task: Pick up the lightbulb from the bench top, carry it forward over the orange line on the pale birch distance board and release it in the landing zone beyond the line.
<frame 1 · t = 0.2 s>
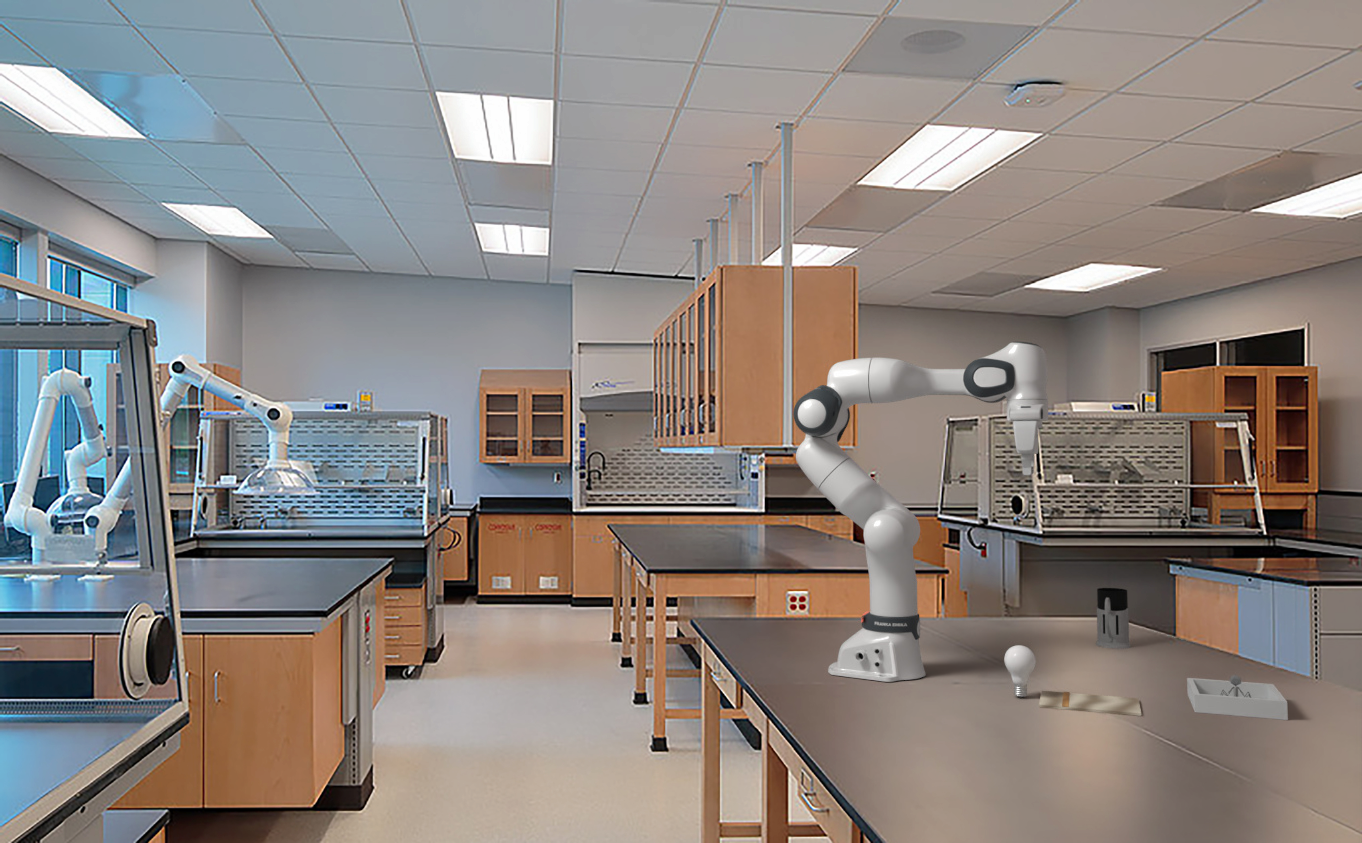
hand: (1028, 474, 222), 47 cm above the table, fingers open, 8 cm apart
lightbulb: (1020, 698, 209), on the table
distance board: (1089, 703, 204), on the table
specimen tray: (1235, 706, 201), on the table
glass holder: (1111, 647, 264), on the table
bacteriophage: (1236, 708, 201), resting in specimen tray
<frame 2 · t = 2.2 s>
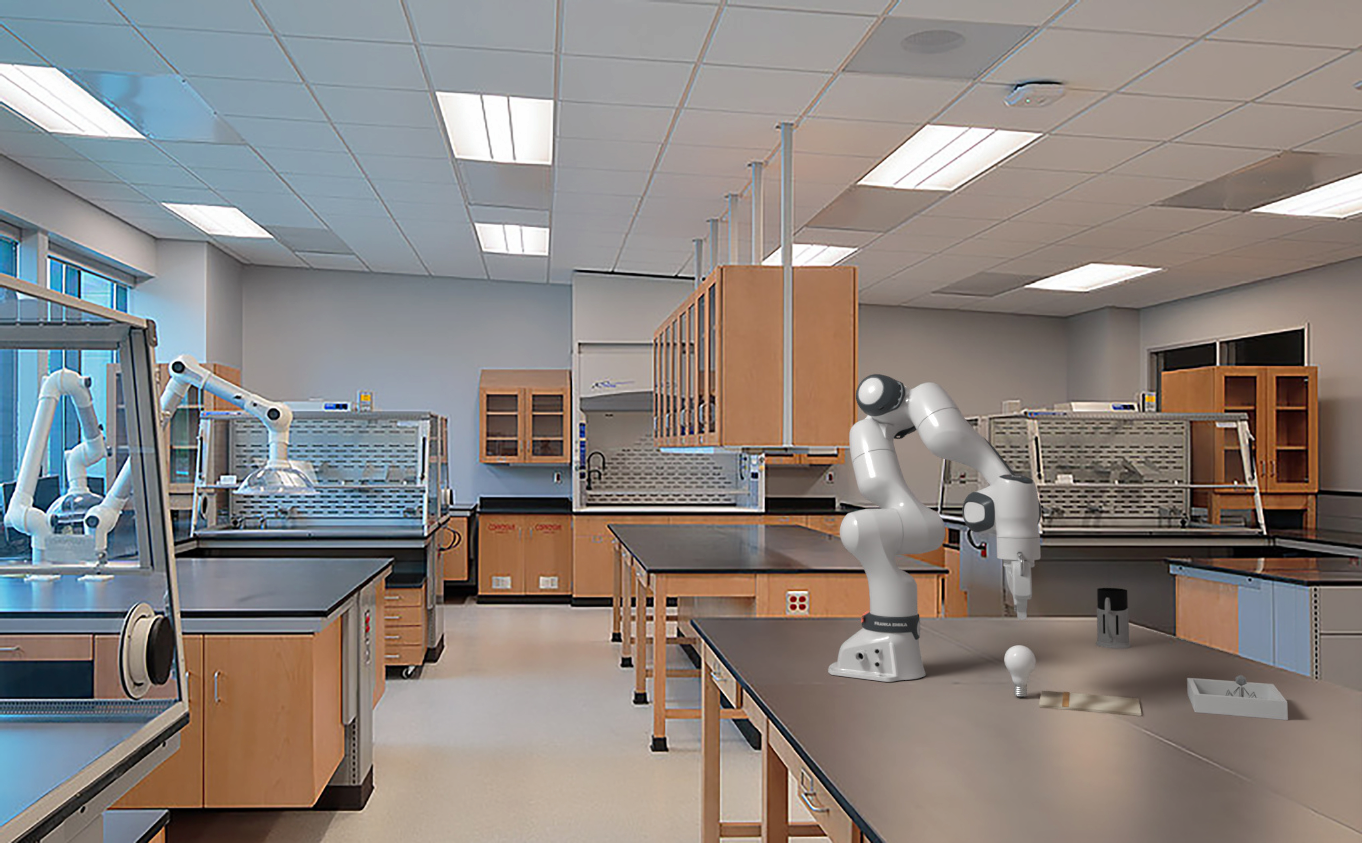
hand: (1020, 616, 210), 17 cm above the table, fingers open, 8 cm apart
bacteriophage: (1241, 708, 201), resting in specimen tray
everything else where it was.
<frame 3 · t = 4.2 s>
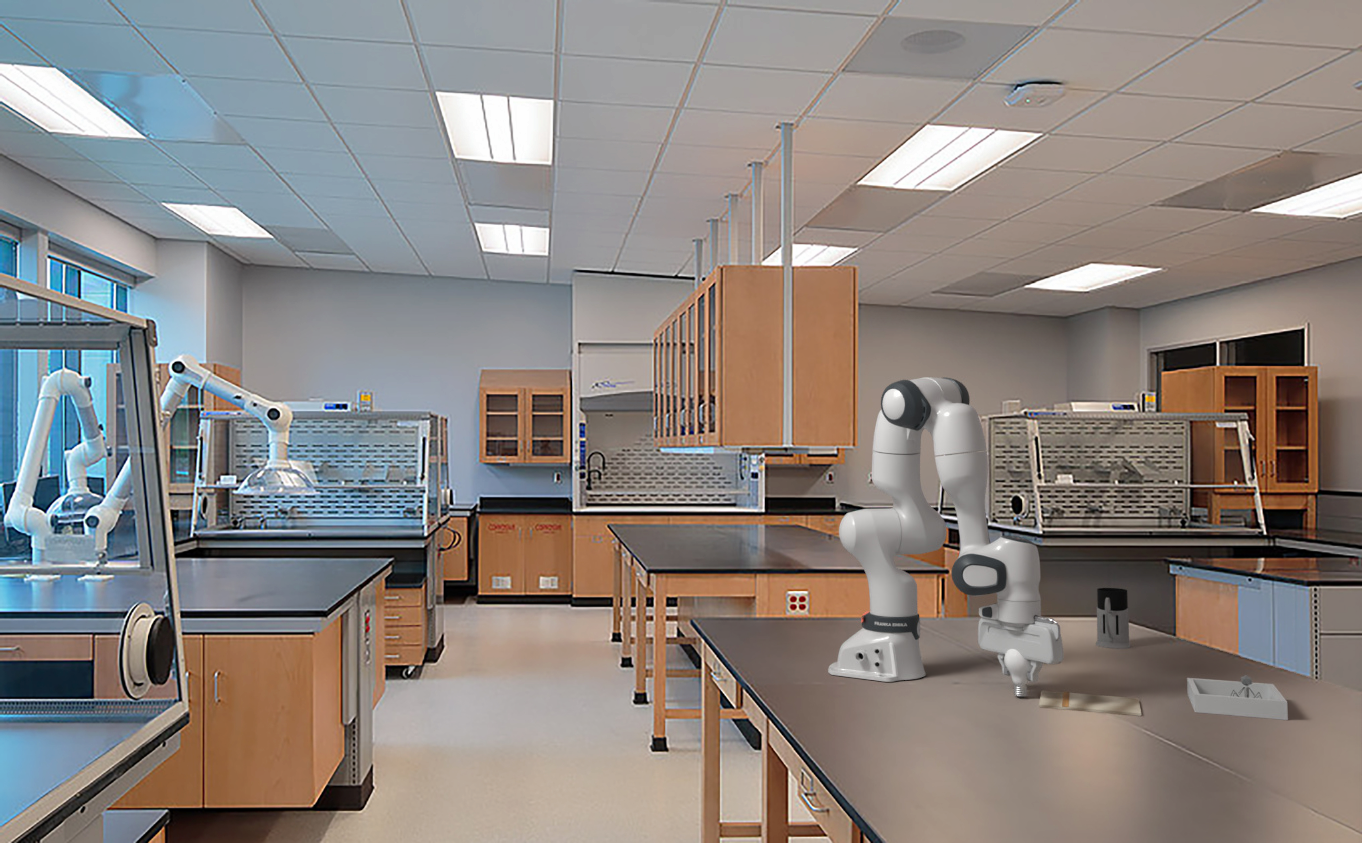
hand: (1020, 677, 210), 4 cm above the table, fingers closed on lightbulb, 5 cm apart
lightbulb: (1020, 698, 209), on the table, touching gripper
bacteriophage: (1247, 709, 201), resting in specimen tray
everything else where it was.
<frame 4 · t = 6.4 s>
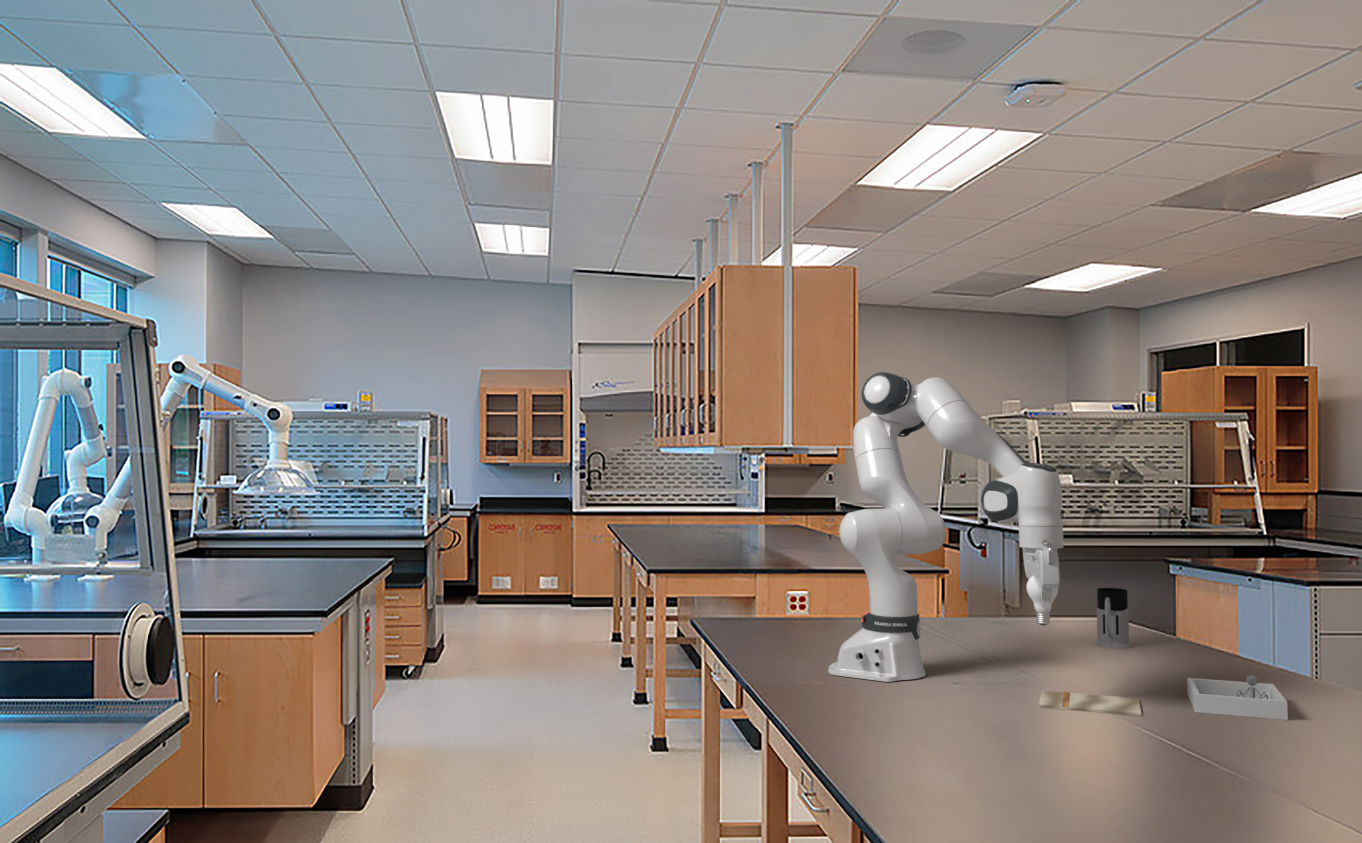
hand: (1042, 605, 208), 20 cm above the table, fingers closed on lightbulb, 5 cm apart
lightbulb: (1043, 626, 208), point 15 cm above the table, touching gripper
bacteriophage: (1253, 709, 201), resting in specimen tray
everything else where it was.
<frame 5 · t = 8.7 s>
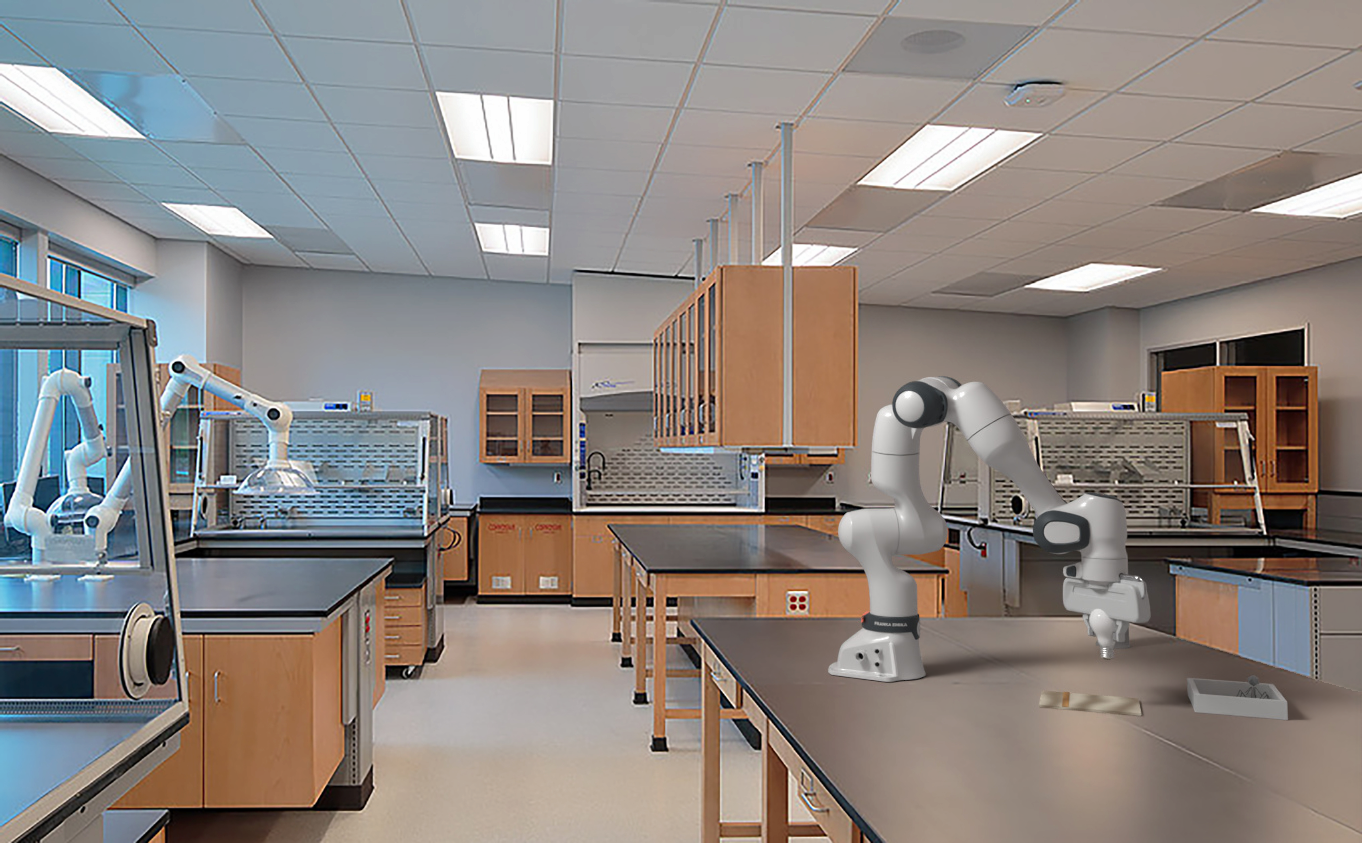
hand: (1106, 638, 203), 14 cm above the table, fingers closed on lightbulb, 5 cm apart
lightbulb: (1107, 660, 203), point 9 cm above the table, touching gripper
when the fingers open (5 cm above the table, at t = 11.7 s): lightbulb stays where it is, resting on distance board.
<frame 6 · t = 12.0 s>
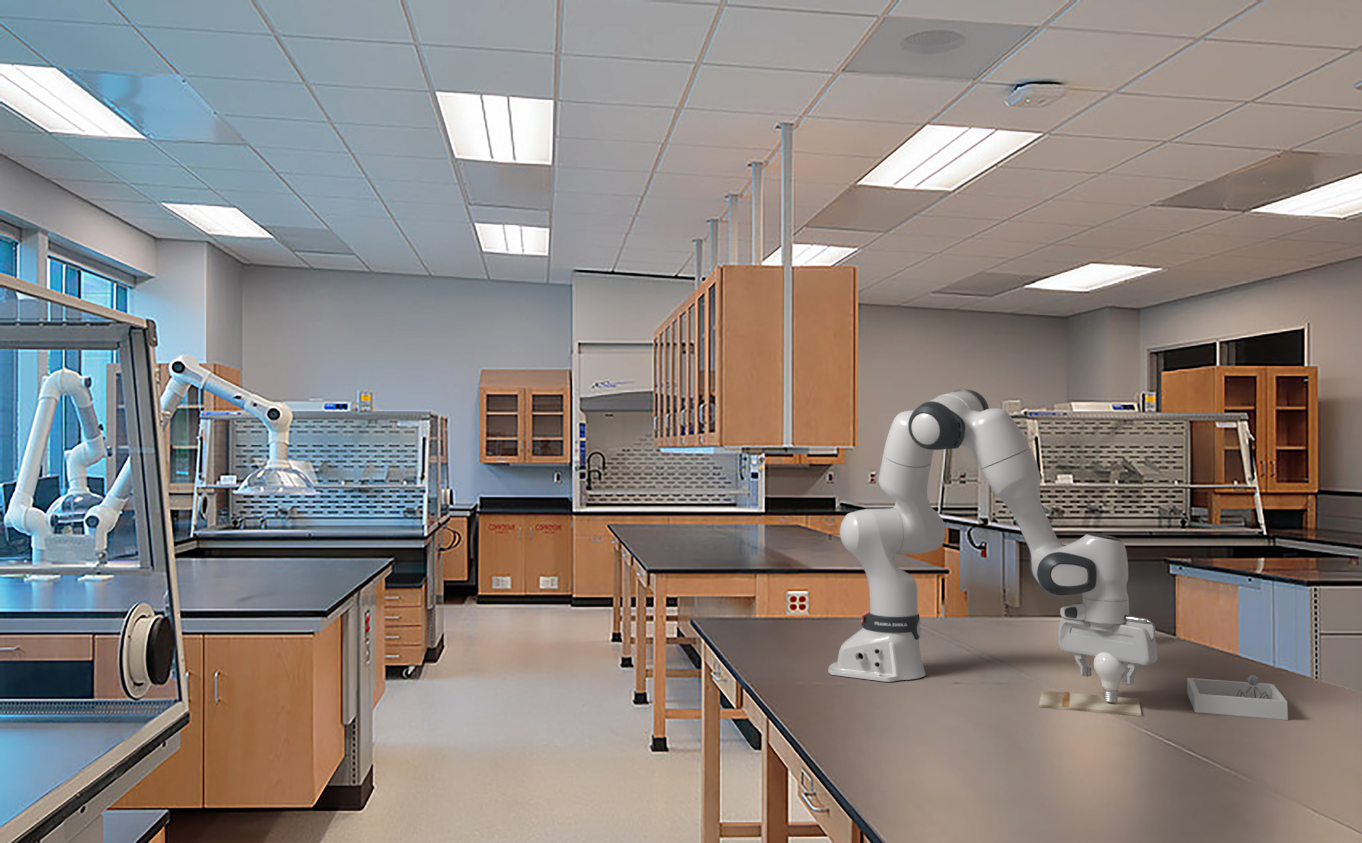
hand: (1106, 679, 203), 5 cm above the table, fingers open, 8 cm apart
lightbulb: (1110, 704, 202), resting on distance board
everything else where it was.
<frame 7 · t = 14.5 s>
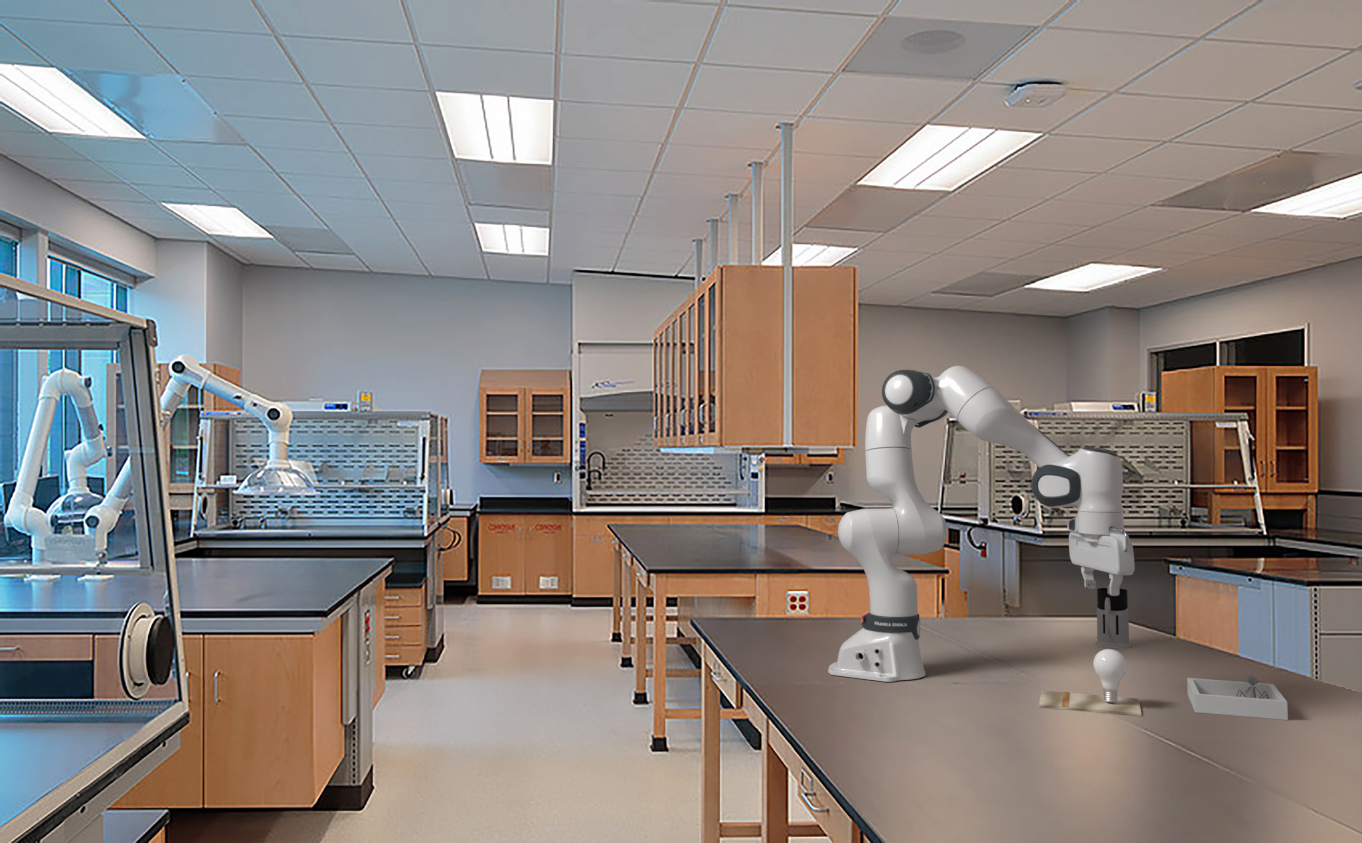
hand: (1101, 591, 205), 23 cm above the table, fingers open, 8 cm apart
nothing on the table moved.
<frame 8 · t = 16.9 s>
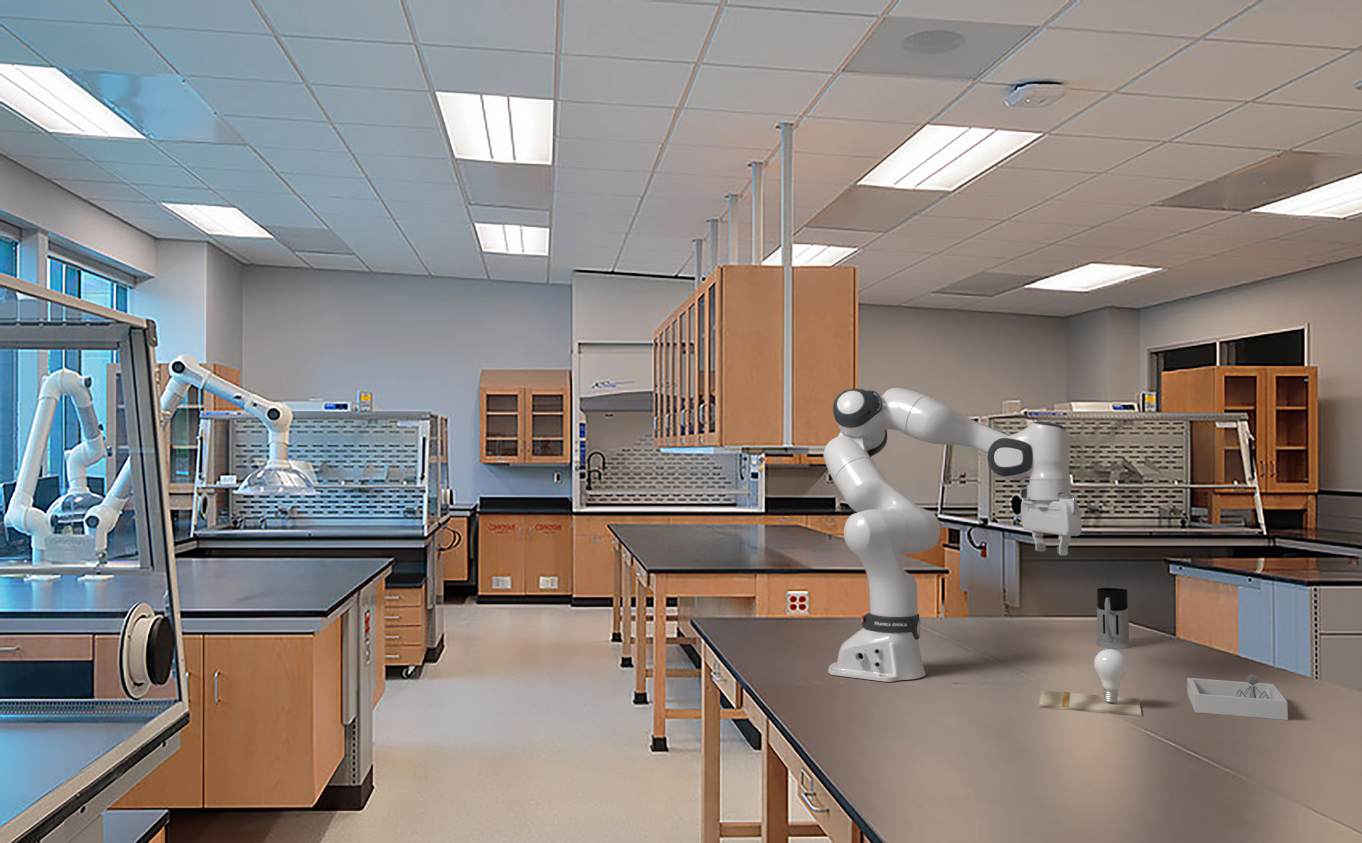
hand: (1051, 553, 225), 29 cm above the table, fingers open, 8 cm apart
at the end: lightbulb inside the target area (0.5 cm from its centre), resting on distance board; lightbulb touching distance board; the gripper is holding nothing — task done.
